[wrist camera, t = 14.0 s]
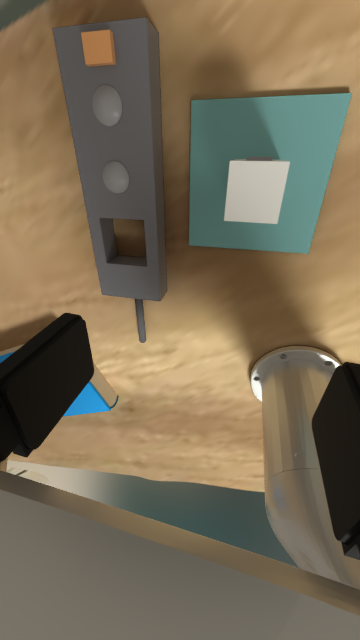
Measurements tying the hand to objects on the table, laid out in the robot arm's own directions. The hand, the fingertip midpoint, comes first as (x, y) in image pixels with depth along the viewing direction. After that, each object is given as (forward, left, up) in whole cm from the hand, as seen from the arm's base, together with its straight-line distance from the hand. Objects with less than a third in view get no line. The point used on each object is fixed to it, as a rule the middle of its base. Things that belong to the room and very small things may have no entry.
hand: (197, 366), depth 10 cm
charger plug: (-1, -4, -22) cm, 23 cm away
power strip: (+12, +1, -23) cm, 26 cm away
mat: (-1, -4, -23) cm, 23 cm away
